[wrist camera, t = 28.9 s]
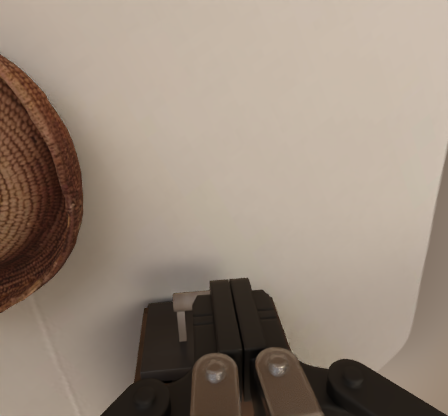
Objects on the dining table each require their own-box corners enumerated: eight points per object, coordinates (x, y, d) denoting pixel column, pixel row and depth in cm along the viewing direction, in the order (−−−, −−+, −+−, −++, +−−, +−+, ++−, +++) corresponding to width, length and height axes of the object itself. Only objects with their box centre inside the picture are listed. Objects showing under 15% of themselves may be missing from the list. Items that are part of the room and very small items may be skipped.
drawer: (143, 262, 32) (132, 325, 25) (270, 253, 33) (294, 311, 26) (160, 395, 39) (155, 473, 32) (264, 384, 40) (281, 457, 33)
